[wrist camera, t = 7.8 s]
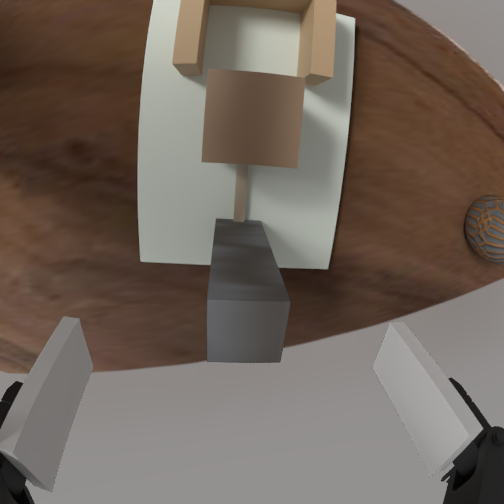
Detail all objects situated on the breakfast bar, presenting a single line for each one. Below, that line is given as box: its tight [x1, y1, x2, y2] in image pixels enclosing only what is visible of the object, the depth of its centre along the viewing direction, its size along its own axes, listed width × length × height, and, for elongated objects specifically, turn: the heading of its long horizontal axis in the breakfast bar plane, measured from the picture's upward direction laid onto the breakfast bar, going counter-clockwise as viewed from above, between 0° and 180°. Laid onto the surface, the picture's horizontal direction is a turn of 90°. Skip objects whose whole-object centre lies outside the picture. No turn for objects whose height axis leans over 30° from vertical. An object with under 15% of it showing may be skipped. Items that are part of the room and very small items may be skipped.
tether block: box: [201, 69, 305, 363], centre depth 17 cm, size 5×14×12 cm, turn 175°
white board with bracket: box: [138, 0, 355, 269], centre depth 20 cm, size 16×22×5 cm
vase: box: [465, 195, 504, 265], centre depth 22 cm, size 7×7×9 cm
